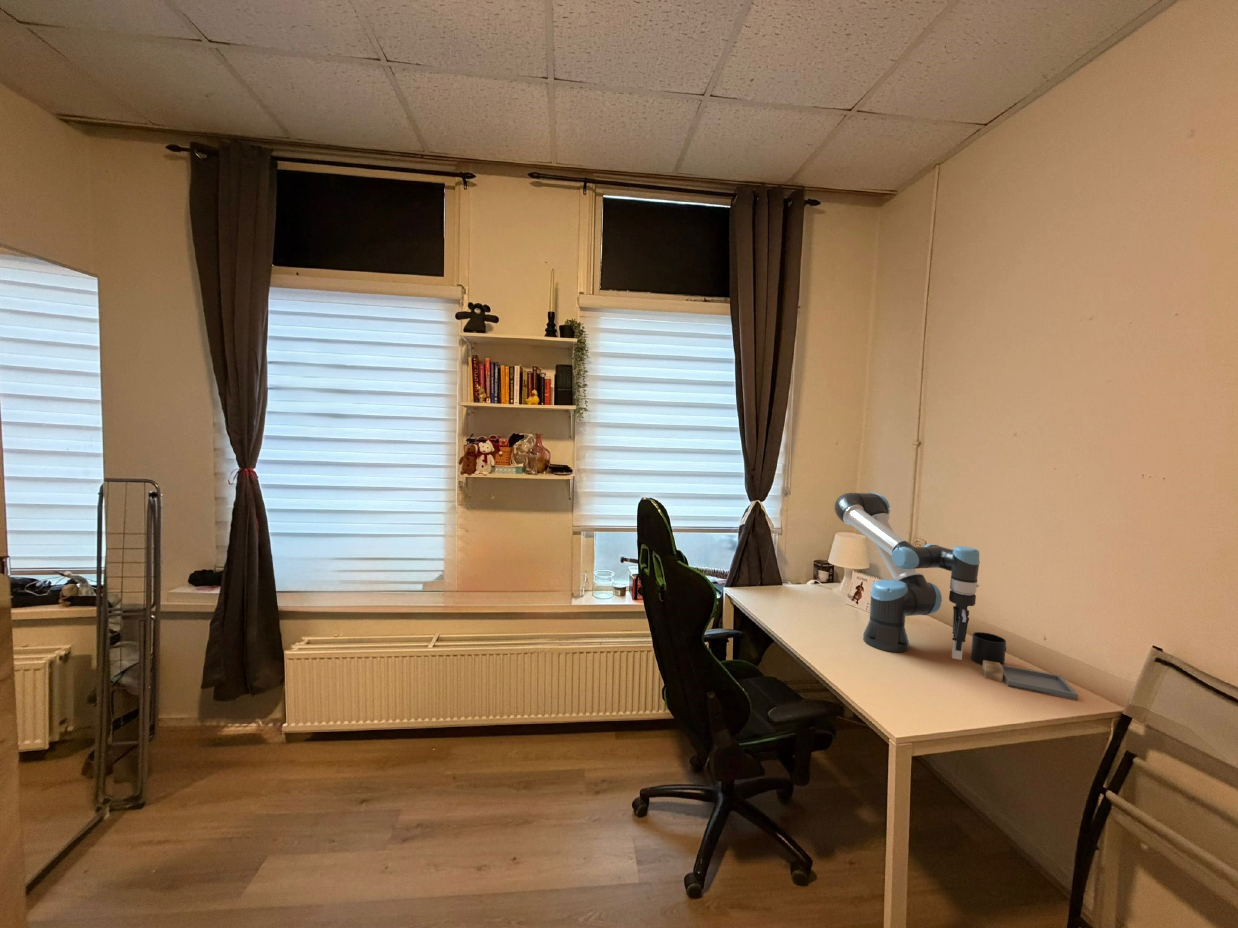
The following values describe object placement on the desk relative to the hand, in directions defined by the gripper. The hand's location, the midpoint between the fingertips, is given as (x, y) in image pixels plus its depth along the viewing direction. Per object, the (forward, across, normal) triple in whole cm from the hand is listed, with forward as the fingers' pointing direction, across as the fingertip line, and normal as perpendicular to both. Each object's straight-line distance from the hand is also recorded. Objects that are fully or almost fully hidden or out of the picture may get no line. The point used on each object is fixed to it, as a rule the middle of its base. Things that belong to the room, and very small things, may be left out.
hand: (956, 658), depth 175 cm
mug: (+2, +7, -11) cm, 13 cm away
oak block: (+2, -7, -9) cm, 11 cm away
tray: (+1, -5, -20) cm, 21 cm away
